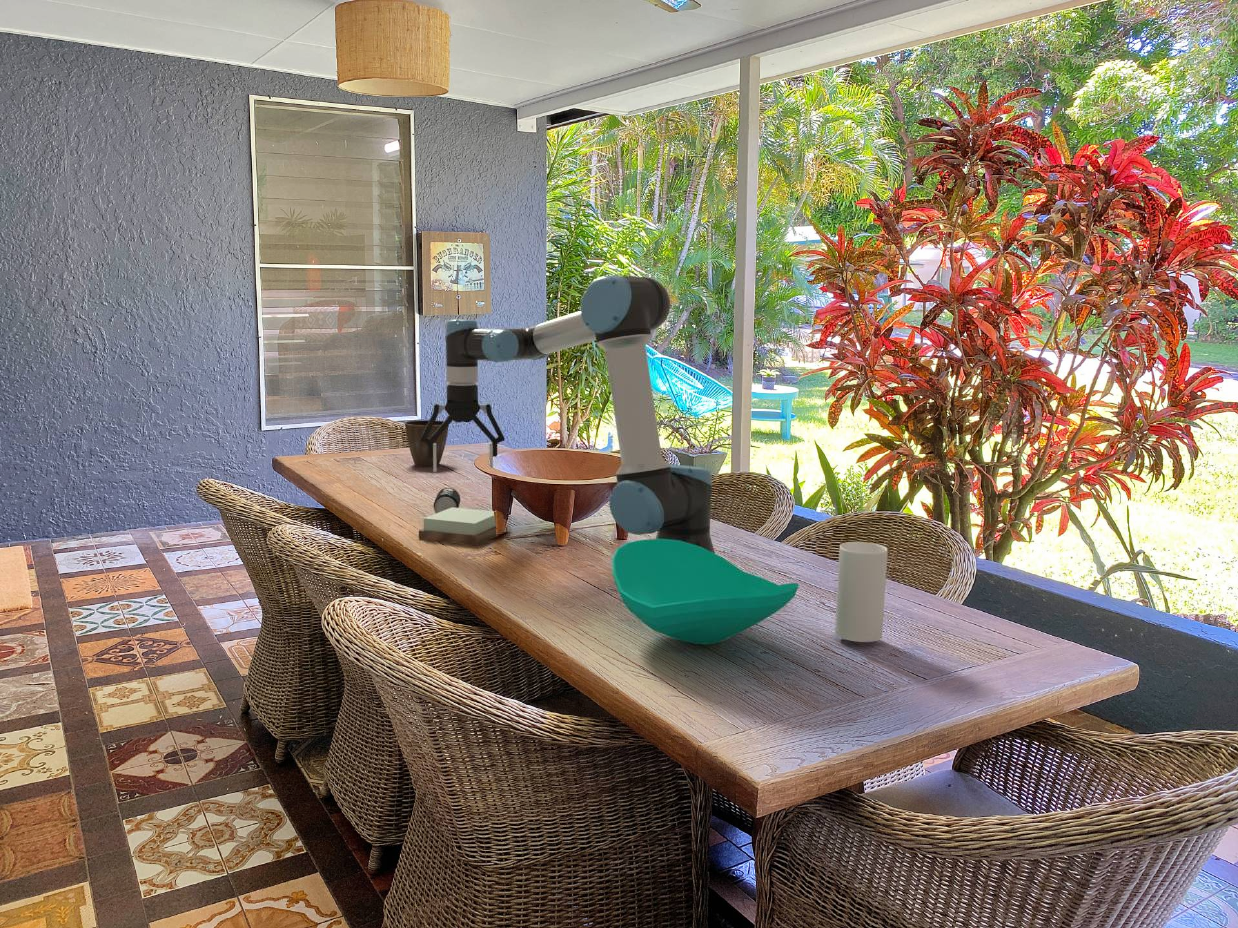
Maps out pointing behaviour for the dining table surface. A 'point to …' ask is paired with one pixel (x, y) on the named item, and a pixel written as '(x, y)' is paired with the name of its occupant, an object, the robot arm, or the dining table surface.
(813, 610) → the dining table surface
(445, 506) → the beverage can
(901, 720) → the dining table surface
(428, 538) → the tower base
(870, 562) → the cup
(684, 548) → the table top decor
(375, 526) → the dining table surface
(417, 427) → the plant pot
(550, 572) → the dining table surface
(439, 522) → the tower top
